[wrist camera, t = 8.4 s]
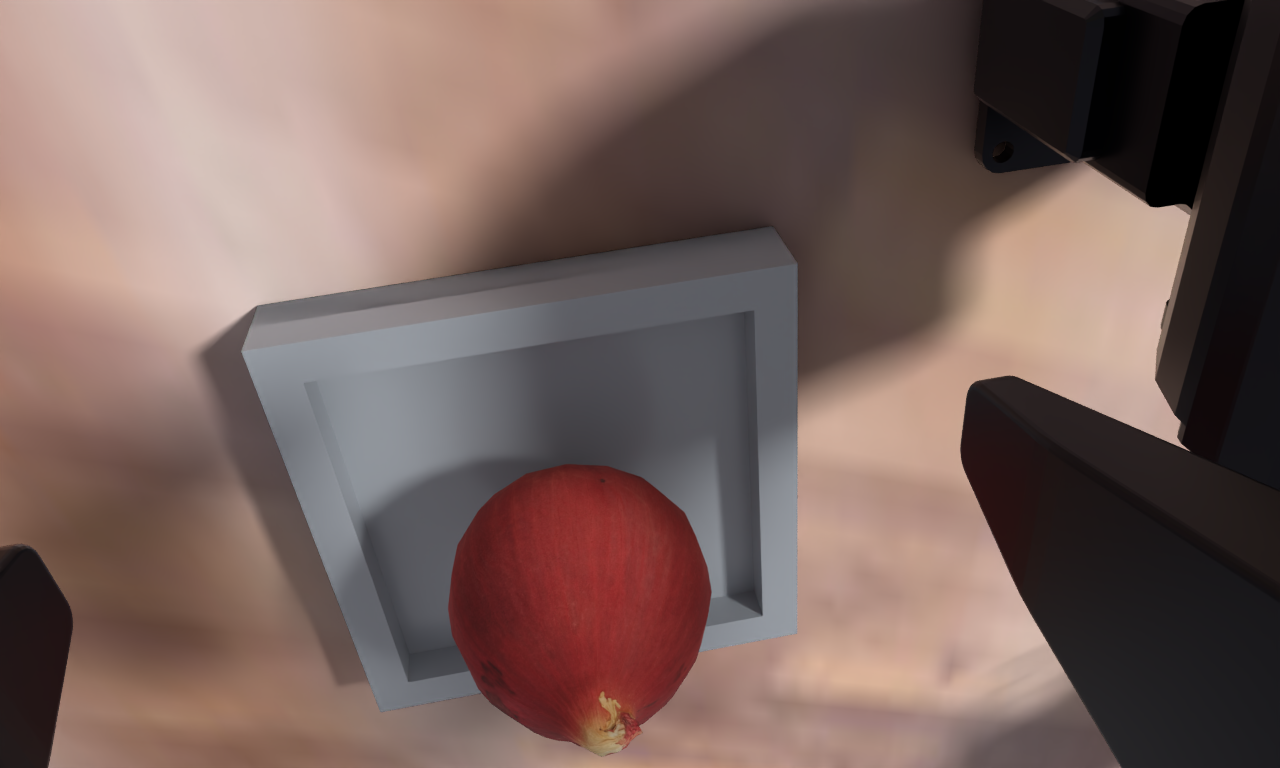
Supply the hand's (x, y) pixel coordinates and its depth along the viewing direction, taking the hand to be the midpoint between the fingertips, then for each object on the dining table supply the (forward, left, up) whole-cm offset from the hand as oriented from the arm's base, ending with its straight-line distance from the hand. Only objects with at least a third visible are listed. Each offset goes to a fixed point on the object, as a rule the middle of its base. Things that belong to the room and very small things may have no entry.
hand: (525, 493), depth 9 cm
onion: (0, +10, -12) cm, 16 cm away
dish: (0, +10, -13) cm, 16 cm away
